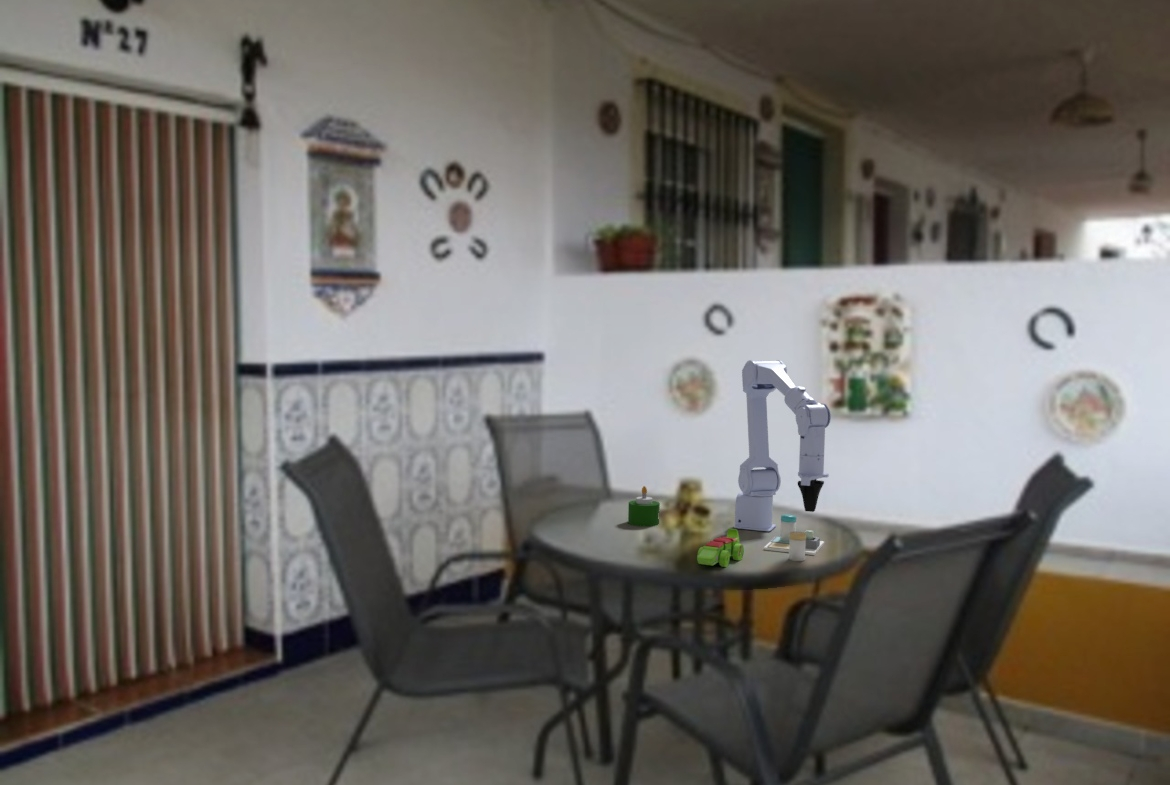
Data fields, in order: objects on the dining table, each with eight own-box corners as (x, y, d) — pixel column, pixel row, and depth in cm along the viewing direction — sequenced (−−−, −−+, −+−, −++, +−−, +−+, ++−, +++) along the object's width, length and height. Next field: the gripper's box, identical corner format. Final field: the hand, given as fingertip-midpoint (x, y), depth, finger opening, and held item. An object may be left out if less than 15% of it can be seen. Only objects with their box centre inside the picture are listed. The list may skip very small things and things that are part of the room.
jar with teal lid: (778, 540, 243) (780, 516, 243) (781, 537, 247) (782, 513, 247) (793, 542, 242) (795, 518, 242) (796, 539, 246) (797, 515, 245)
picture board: (763, 549, 237) (764, 539, 237) (775, 538, 249) (776, 528, 249) (814, 555, 233) (814, 544, 232) (824, 543, 245) (824, 533, 244)
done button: (803, 540, 238) (804, 531, 238) (805, 538, 240) (805, 529, 240) (812, 541, 237) (812, 532, 237) (813, 539, 239) (814, 530, 239)
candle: (657, 520, 270) (658, 483, 269) (660, 526, 262) (661, 489, 261) (627, 519, 270) (627, 483, 269) (629, 526, 261) (630, 488, 261)
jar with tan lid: (787, 560, 228) (788, 534, 227) (790, 556, 231) (791, 531, 231) (803, 561, 226) (804, 535, 226) (806, 558, 230) (807, 532, 229)
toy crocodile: (715, 573, 215) (716, 546, 215) (687, 569, 219) (688, 541, 218) (750, 555, 232) (751, 530, 232) (724, 551, 236) (725, 526, 235)
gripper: (823, 459, 229) (821, 518, 230) (833, 452, 242) (832, 507, 243) (792, 457, 231) (790, 515, 232) (804, 450, 245) (803, 504, 246)
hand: (809, 511), depth 238 cm, fingers closed
